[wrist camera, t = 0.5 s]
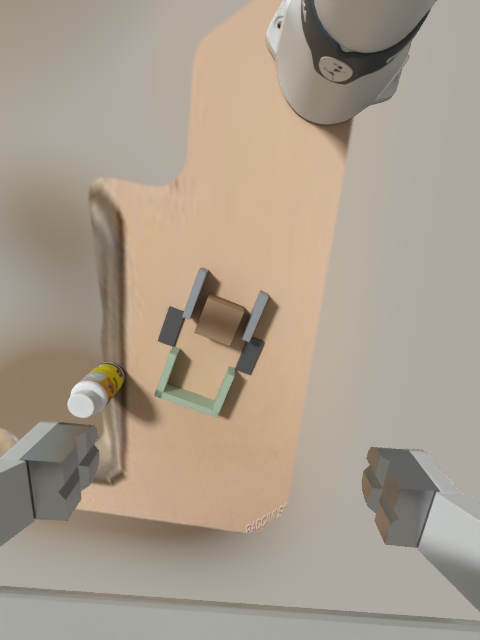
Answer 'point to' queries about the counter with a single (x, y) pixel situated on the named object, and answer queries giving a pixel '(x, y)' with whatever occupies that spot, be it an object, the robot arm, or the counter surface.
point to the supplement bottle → (95, 390)
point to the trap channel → (169, 338)
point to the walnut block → (219, 319)
